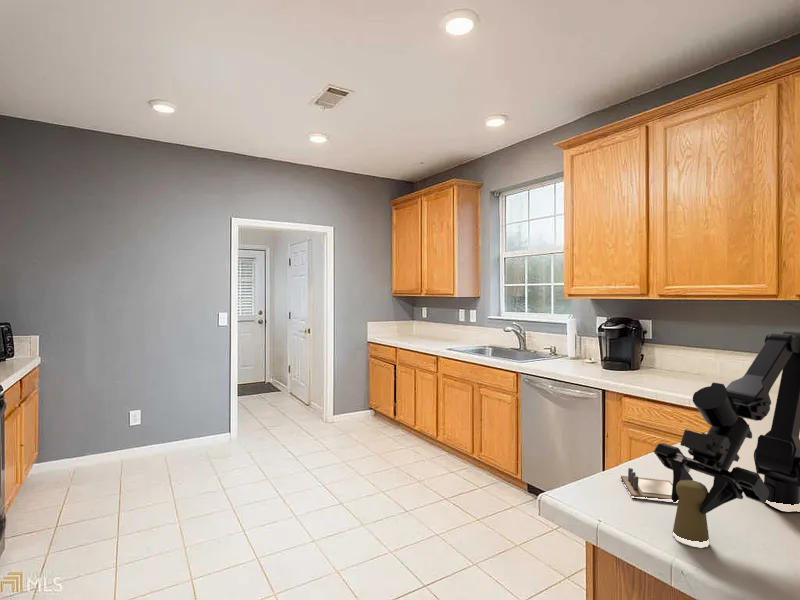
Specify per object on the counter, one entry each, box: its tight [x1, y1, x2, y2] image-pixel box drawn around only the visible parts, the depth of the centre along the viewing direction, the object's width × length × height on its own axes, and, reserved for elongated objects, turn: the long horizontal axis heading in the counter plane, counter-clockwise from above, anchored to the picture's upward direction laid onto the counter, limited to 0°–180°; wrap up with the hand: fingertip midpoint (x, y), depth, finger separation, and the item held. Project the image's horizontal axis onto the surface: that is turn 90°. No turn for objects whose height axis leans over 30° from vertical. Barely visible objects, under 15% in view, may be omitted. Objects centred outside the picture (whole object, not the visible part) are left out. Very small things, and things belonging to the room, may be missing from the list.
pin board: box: [620, 467, 679, 500], centre depth 108 cm, size 11×11×4 cm
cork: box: [672, 479, 710, 542], centre depth 87 cm, size 6×6×11 cm
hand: (686, 506), depth 86 cm, fingers closed on cork, 5 cm apart
